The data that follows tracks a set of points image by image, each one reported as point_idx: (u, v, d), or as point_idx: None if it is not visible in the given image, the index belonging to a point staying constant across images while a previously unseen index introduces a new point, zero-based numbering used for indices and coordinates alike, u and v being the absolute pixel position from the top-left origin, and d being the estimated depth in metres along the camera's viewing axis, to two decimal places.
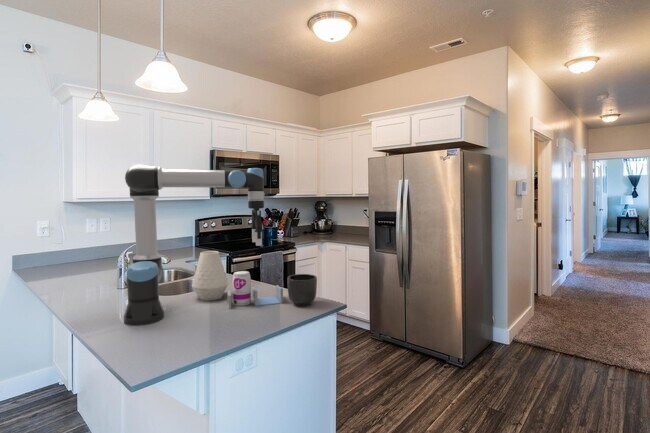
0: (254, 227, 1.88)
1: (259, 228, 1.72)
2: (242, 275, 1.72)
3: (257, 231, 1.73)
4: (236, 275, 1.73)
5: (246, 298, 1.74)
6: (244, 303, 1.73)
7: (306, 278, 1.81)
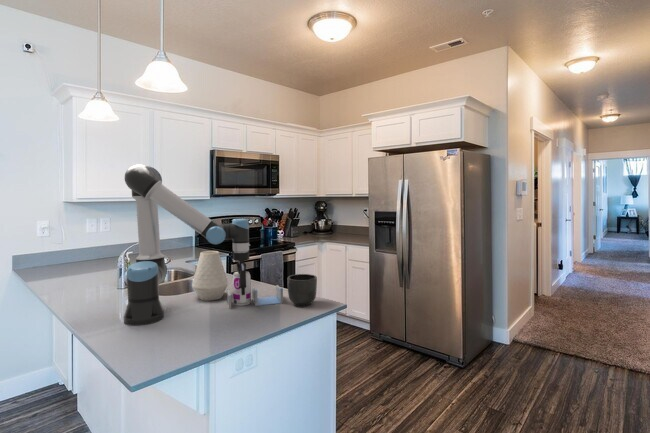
0: None
1: (243, 285, 1.69)
2: None
3: (241, 288, 1.71)
4: (236, 275, 1.73)
5: (246, 298, 1.74)
6: (244, 303, 1.73)
7: (306, 278, 1.81)
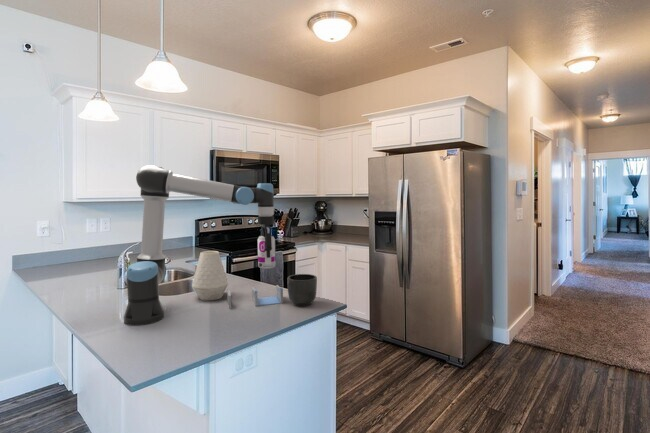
0: None
1: (268, 247, 1.72)
2: None
3: (266, 250, 1.73)
4: (261, 238, 1.75)
5: (271, 261, 1.76)
6: (269, 266, 1.76)
7: (306, 278, 1.81)
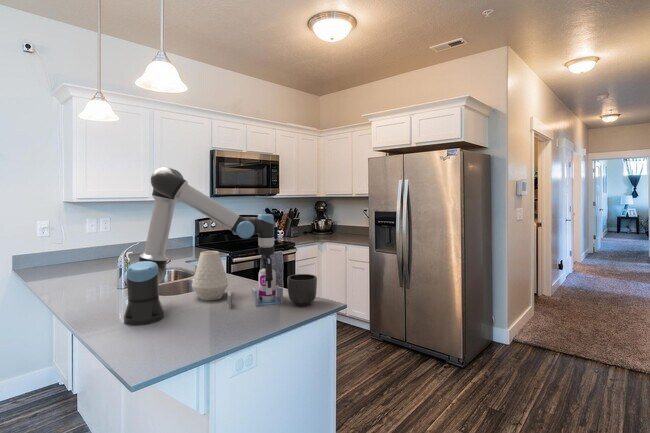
0: None
1: (269, 278, 1.71)
2: None
3: (267, 280, 1.73)
4: (262, 272, 1.76)
5: (272, 295, 1.77)
6: (270, 300, 1.77)
7: (306, 278, 1.81)
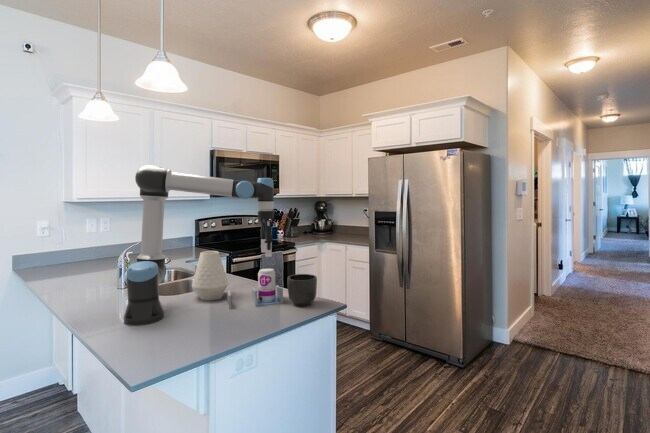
0: (263, 237, 1.85)
1: (269, 239, 1.69)
2: (268, 272, 1.76)
3: (267, 242, 1.71)
4: (262, 272, 1.76)
5: (272, 295, 1.77)
6: (270, 300, 1.77)
7: (306, 278, 1.81)
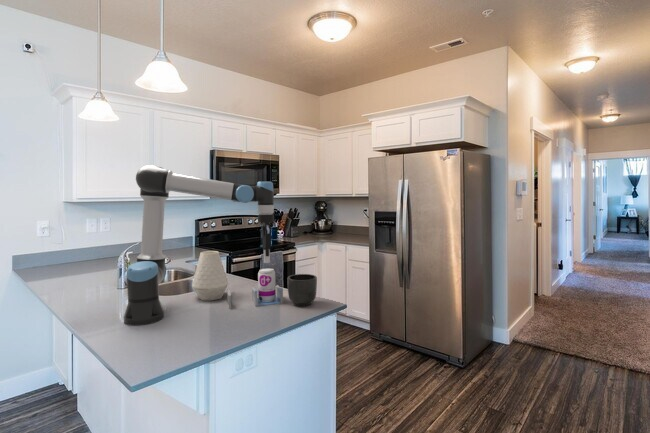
0: None
1: (267, 246, 1.76)
2: (268, 272, 1.76)
3: (265, 249, 1.77)
4: (262, 272, 1.76)
5: (272, 295, 1.77)
6: (270, 300, 1.77)
7: (306, 278, 1.81)
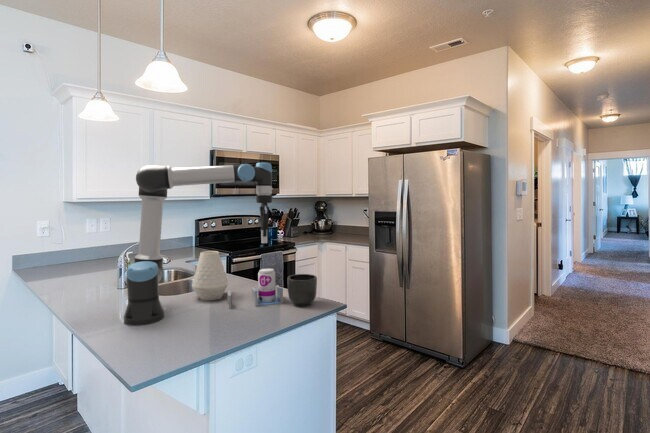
0: None
1: (265, 226, 1.78)
2: (268, 272, 1.76)
3: (263, 229, 1.80)
4: (262, 272, 1.76)
5: (272, 295, 1.77)
6: (269, 300, 1.77)
7: (306, 278, 1.81)
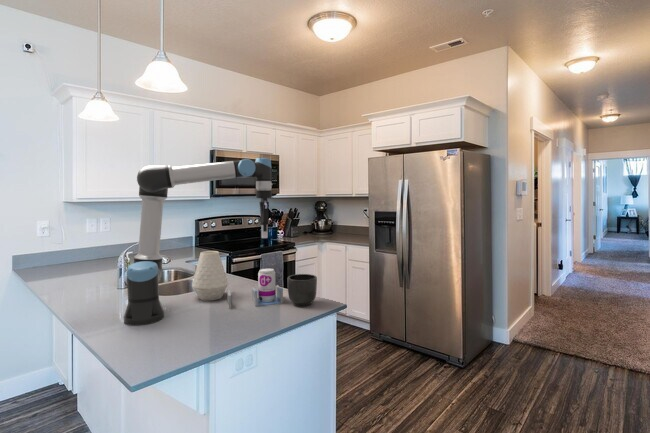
0: None
1: None
2: (268, 272, 1.76)
3: (263, 224, 1.81)
4: (262, 272, 1.76)
5: (272, 295, 1.77)
6: (269, 300, 1.77)
7: (306, 278, 1.81)
